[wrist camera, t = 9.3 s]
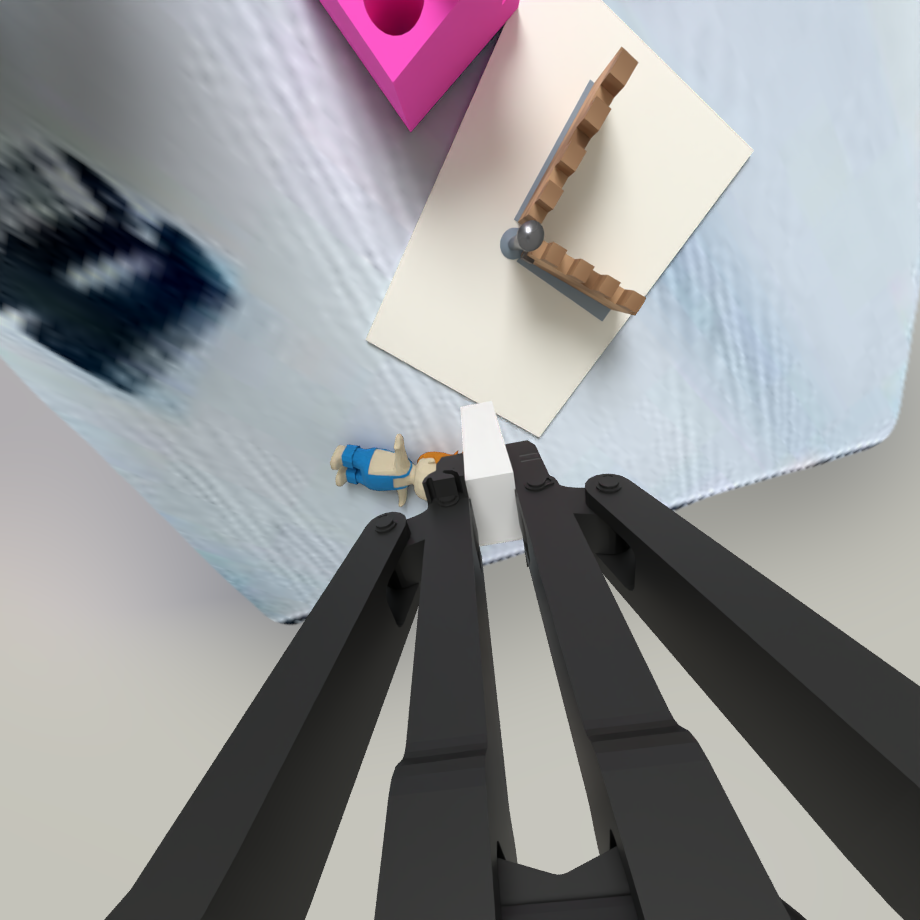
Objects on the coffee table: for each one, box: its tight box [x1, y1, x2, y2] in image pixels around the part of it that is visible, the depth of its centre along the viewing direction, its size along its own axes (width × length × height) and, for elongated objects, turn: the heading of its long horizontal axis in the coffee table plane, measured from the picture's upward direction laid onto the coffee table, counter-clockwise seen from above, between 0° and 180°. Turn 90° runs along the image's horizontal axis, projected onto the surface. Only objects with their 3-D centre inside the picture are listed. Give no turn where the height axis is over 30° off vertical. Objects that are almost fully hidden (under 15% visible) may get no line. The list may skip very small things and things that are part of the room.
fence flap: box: [520, 240, 646, 315], centre depth 30 cm, size 10×2×7 cm, turn 64°
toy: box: [330, 434, 458, 507], centre depth 40 cm, size 12×6×15 cm
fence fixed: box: [518, 46, 639, 225], centre depth 26 cm, size 10×1×7 cm, turn 150°
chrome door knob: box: [508, 220, 544, 252], centre depth 28 cm, size 2×2×8 cm
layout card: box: [366, 0, 754, 437], centre depth 32 cm, size 21×29×1 cm
